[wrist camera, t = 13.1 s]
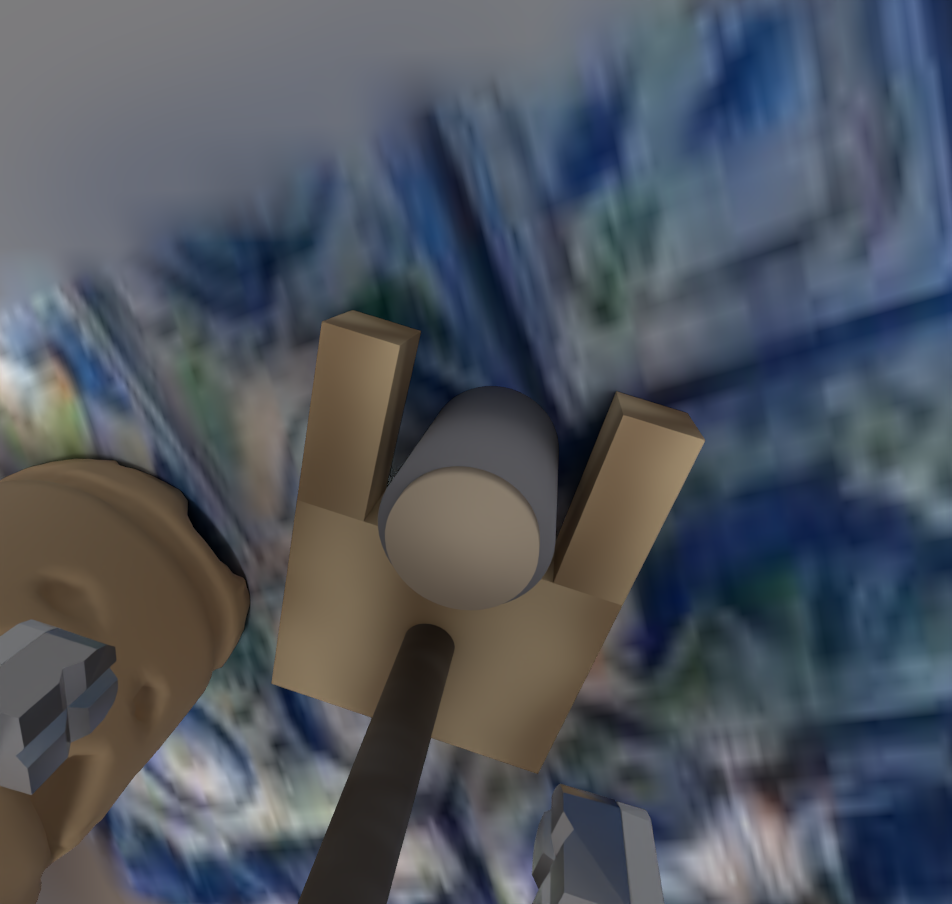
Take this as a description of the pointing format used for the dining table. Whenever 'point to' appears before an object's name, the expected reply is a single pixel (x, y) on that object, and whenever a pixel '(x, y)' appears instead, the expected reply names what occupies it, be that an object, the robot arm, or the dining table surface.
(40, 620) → the container
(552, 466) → the grey cylinder peg
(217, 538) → the dining table surface
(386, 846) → the wooden hook stand
